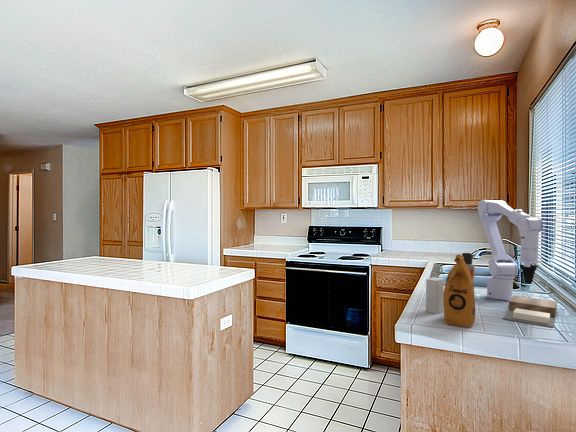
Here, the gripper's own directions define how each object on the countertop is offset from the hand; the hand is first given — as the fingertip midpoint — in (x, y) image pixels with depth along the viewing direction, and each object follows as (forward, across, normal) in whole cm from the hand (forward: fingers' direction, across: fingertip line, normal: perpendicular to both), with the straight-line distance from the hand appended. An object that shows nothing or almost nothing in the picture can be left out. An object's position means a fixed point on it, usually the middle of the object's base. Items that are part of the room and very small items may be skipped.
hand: (528, 283), depth 142 cm
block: (+7, -19, -3) cm, 20 cm away
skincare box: (+10, -31, +26) cm, 42 cm away
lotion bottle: (+10, -5, +21) cm, 24 cm away
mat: (+9, -18, -2) cm, 20 cm away
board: (+9, -4, -2) cm, 10 cm away
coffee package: (+10, -39, +16) cm, 43 cm away
